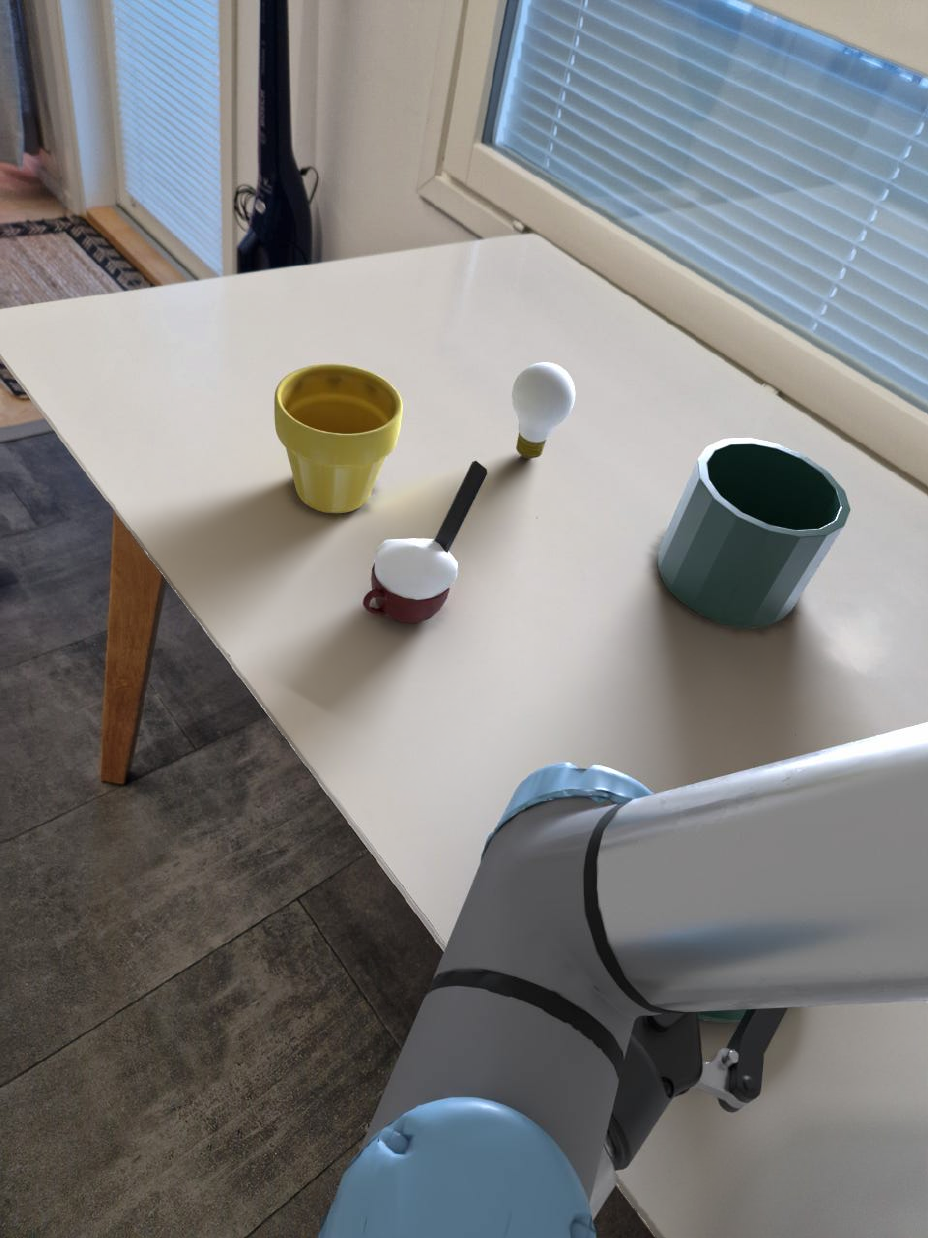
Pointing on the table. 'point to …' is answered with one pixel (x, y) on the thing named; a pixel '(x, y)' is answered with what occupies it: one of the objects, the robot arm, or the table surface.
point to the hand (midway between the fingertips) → (781, 806)
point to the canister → (750, 531)
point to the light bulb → (540, 405)
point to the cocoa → (421, 563)
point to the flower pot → (336, 432)
